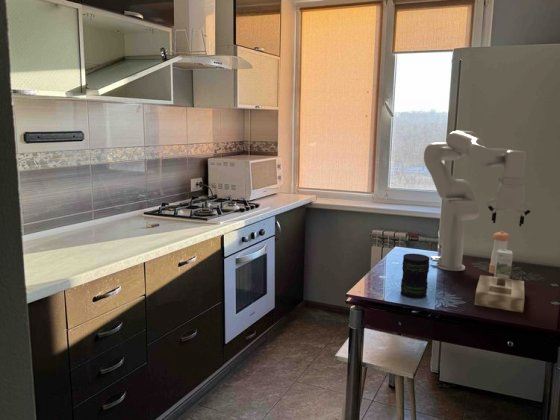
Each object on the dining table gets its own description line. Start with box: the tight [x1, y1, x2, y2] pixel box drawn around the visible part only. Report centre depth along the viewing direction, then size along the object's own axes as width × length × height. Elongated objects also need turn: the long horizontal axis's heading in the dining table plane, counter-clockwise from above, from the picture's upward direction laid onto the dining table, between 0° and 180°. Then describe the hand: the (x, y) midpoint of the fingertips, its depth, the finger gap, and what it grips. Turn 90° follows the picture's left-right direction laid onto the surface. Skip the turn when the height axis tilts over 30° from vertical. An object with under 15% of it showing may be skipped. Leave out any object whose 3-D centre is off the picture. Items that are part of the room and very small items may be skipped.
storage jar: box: [400, 253, 431, 300], centre depth 192 cm, size 10×10×15 cm
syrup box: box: [493, 249, 514, 279], centre depth 208 cm, size 6×6×14 cm
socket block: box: [474, 274, 525, 314], centre depth 191 cm, size 16×24×5 cm, turn 155°
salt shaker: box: [488, 230, 511, 275], centre depth 226 cm, size 7×7×19 cm
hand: (507, 224), depth 203 cm, fingers open, 9 cm apart
